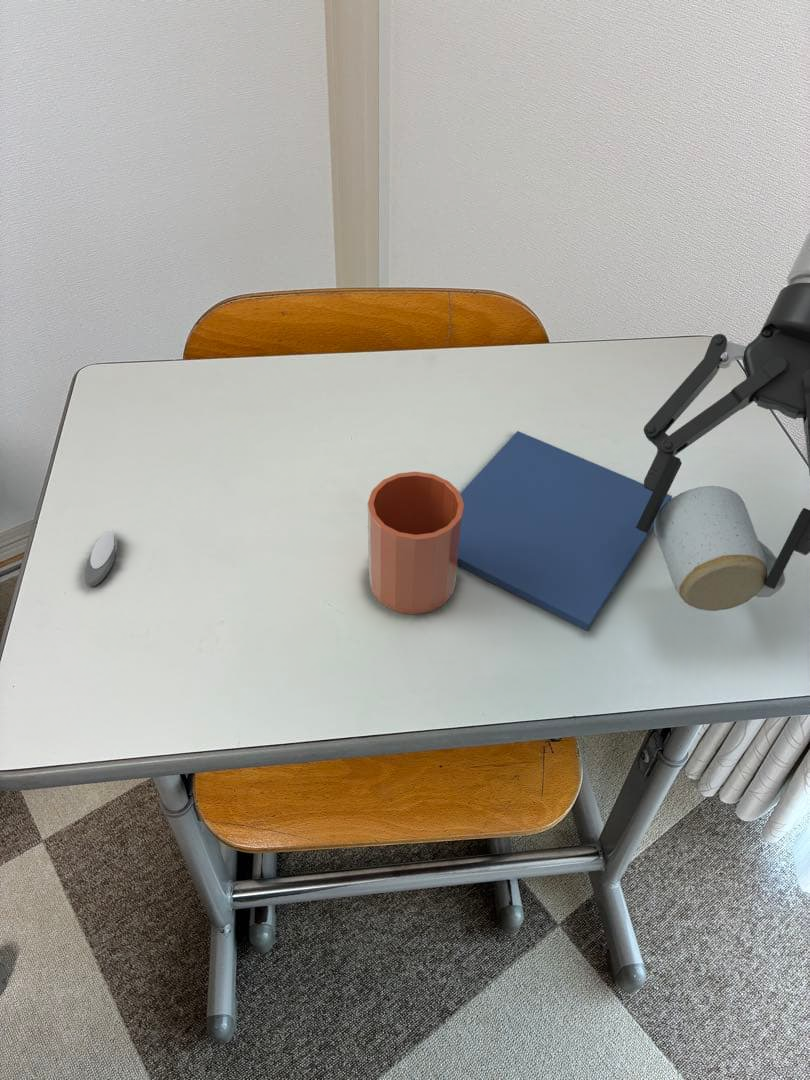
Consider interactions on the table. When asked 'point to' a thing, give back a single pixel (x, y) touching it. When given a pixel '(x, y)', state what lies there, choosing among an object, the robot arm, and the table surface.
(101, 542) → the oval pebble
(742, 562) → the ceramic mug
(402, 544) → the clay cup
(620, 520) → the blue mat
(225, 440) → the table surface
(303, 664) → the table surface
